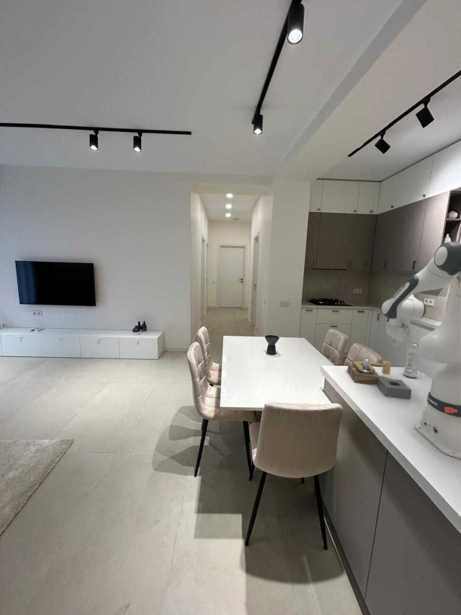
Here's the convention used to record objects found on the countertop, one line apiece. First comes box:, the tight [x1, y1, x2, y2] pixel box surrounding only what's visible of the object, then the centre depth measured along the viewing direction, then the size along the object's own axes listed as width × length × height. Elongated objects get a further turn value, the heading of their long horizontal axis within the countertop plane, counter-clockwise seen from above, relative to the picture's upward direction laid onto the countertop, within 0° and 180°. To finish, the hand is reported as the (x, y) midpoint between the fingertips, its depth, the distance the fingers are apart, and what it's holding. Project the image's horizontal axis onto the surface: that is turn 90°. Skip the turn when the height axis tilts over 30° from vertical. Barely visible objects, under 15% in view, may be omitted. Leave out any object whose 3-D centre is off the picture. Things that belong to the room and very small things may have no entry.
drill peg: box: [360, 357, 371, 374], centre depth 143 cm, size 5×5×12 cm
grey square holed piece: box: [376, 377, 413, 400], centre depth 130 cm, size 11×11×5 cm
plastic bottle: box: [403, 342, 421, 378], centre depth 150 cm, size 6×7×20 cm
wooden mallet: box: [353, 360, 392, 376], centre depth 145 cm, size 12×19×7 cm, turn 80°
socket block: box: [347, 361, 381, 386], centre depth 147 cm, size 16×12×6 cm
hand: (395, 347), depth 139 cm, fingers closed
